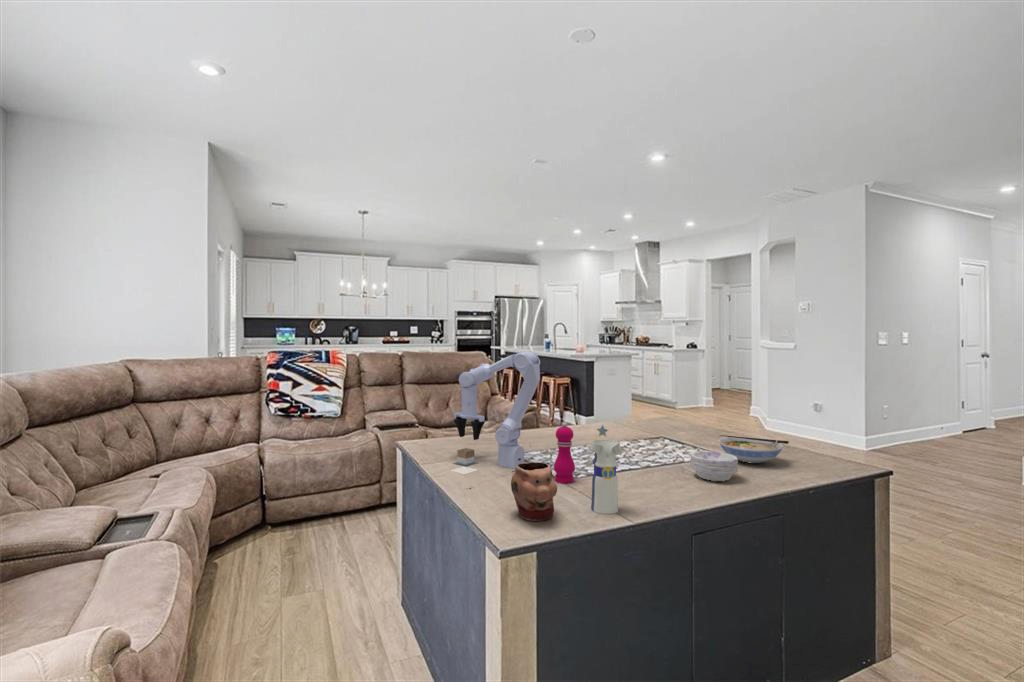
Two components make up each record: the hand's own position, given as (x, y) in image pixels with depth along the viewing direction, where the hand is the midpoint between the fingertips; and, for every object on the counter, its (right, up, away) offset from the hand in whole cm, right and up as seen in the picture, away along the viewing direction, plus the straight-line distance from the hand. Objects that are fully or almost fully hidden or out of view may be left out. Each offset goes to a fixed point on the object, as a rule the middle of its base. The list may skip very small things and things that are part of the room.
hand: (469, 438), depth 193 cm
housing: (-1, -8, -6) cm, 10 cm away
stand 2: (0, -10, -15) cm, 18 cm away
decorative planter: (+22, -11, -53) cm, 59 cm away
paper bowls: (+87, -10, -19) cm, 89 cm away
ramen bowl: (+109, -10, +2) cm, 110 cm away
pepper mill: (+34, -10, -23) cm, 42 cm away
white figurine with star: (+43, -11, -49) cm, 67 cm away
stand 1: (-1, -10, -5) cm, 11 cm away
